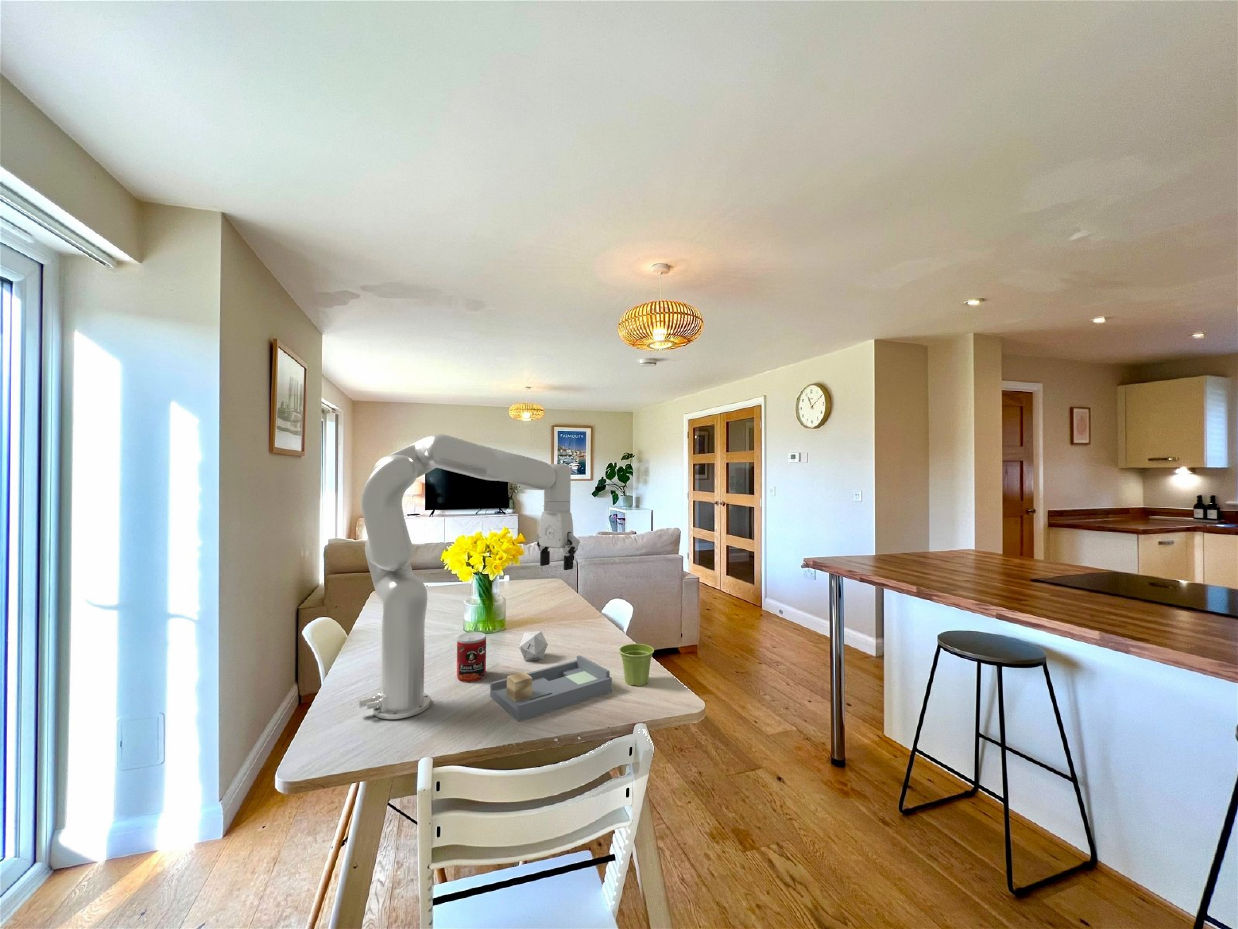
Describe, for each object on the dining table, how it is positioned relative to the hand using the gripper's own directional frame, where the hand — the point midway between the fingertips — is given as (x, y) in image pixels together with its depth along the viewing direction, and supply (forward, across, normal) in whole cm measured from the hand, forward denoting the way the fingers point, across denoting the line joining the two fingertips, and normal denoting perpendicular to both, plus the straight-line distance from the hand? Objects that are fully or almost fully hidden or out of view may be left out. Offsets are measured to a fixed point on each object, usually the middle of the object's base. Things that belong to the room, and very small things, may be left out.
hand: (556, 567), depth 143 cm
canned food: (+30, -14, -18) cm, 37 cm away
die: (+29, -12, +2) cm, 32 cm away
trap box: (+29, +11, -11) cm, 33 cm away
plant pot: (+29, +22, +9) cm, 38 cm away
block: (+27, +9, -20) cm, 35 cm away
